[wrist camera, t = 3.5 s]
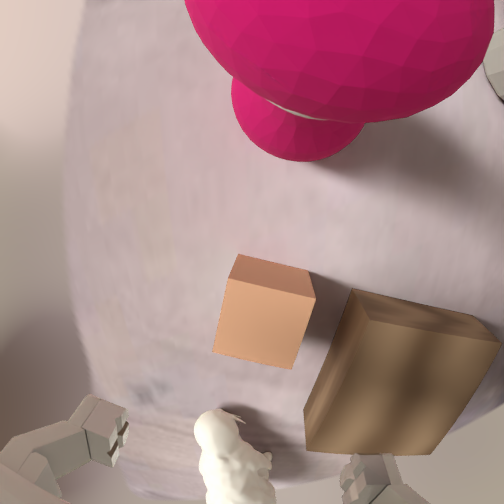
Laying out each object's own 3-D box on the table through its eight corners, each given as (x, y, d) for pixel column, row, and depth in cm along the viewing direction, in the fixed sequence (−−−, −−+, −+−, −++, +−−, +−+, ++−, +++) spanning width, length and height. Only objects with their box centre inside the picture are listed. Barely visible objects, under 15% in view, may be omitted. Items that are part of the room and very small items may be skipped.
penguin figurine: (212, 535, 21) (154, 458, 19) (226, 477, 29) (184, 397, 27) (278, 533, 20) (235, 455, 18) (281, 471, 28) (249, 388, 26)
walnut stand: (472, 315, 22) (502, 343, 18) (415, 419, 26) (430, 454, 21) (352, 288, 22) (369, 319, 18) (303, 409, 26) (306, 450, 21)
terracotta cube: (308, 270, 22) (315, 298, 18) (289, 331, 24) (291, 369, 19) (238, 253, 22) (228, 278, 18) (224, 316, 24) (212, 351, 19)
